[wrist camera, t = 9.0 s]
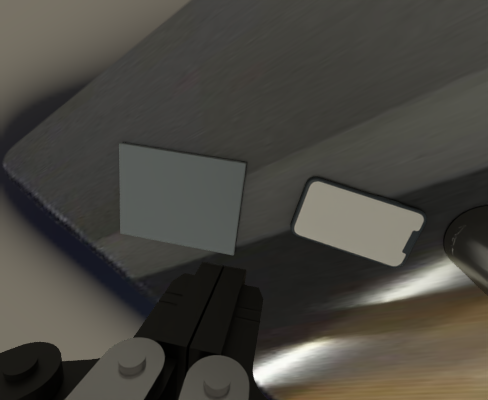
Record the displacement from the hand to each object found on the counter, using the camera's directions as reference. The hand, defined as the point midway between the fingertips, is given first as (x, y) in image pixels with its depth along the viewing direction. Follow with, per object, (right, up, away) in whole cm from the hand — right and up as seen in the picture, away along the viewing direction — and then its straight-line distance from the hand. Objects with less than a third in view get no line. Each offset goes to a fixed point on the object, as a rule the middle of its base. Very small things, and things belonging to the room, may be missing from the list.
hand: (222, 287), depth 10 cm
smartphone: (+8, +2, +29) cm, 30 cm away
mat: (-9, +3, +32) cm, 34 cm away
